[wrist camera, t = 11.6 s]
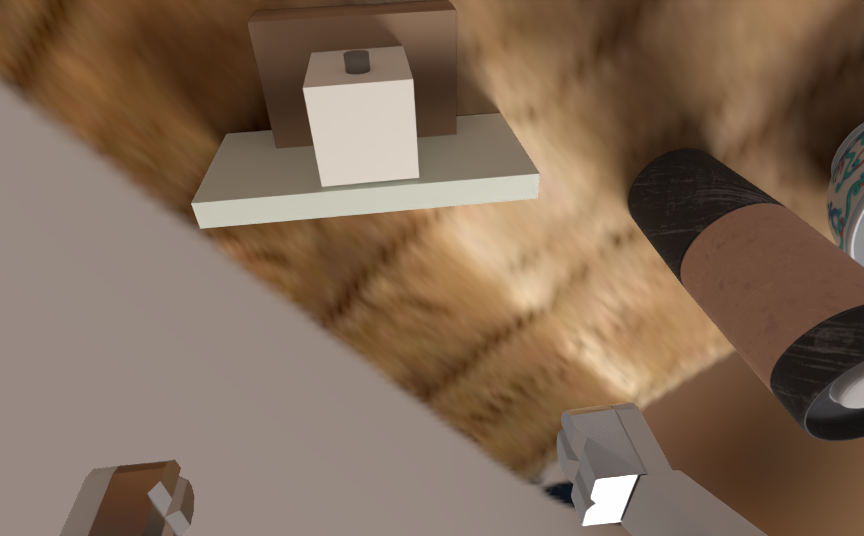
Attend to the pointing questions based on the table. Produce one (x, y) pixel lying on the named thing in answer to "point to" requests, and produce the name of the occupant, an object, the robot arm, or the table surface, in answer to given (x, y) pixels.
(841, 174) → the chinaware
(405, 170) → the cabinet block
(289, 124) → the cleat ledge
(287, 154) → the wall board
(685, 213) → the travel mug
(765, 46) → the table surface
